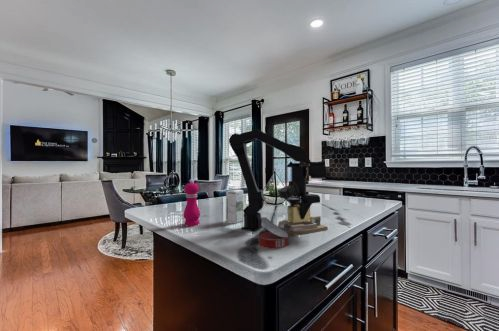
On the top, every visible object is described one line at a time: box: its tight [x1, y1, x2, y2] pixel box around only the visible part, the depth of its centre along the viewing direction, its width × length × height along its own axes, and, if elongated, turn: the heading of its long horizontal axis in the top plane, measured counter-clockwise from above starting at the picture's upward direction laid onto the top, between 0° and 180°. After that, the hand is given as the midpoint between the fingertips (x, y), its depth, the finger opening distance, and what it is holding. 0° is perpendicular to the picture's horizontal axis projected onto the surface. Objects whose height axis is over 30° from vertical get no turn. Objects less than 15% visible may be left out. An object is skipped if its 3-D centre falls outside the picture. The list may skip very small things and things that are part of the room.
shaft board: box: [277, 215, 329, 237], centre depth 97 cm, size 10×20×4 cm, turn 115°
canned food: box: [258, 216, 289, 250], centre depth 81 cm, size 11×10×10 cm
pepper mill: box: [182, 178, 201, 227], centre depth 107 cm, size 7×7×20 cm
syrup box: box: [225, 188, 244, 224], centre depth 111 cm, size 6×6×14 cm
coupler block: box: [286, 204, 311, 223], centre depth 96 cm, size 4×8×6 cm, turn 115°
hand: (299, 218), depth 97 cm, fingers closed on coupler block, 4 cm apart
